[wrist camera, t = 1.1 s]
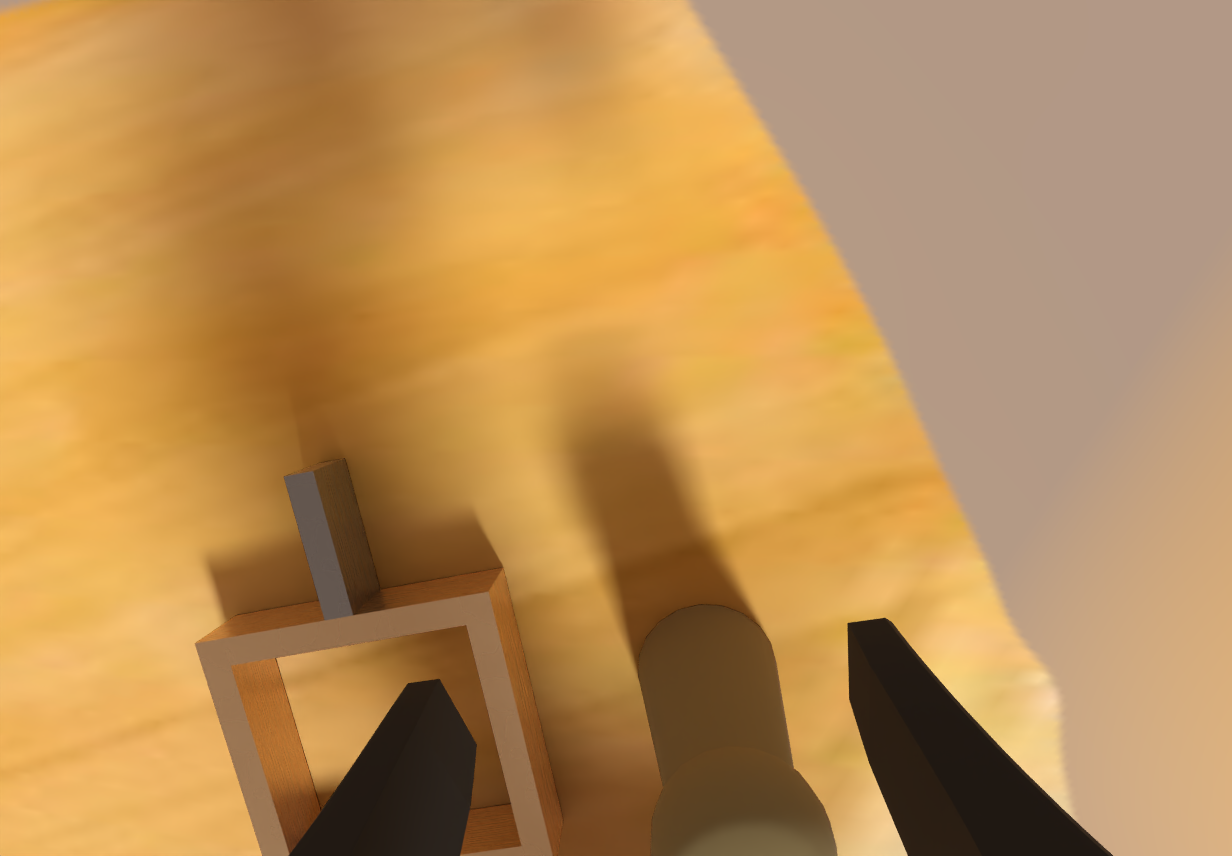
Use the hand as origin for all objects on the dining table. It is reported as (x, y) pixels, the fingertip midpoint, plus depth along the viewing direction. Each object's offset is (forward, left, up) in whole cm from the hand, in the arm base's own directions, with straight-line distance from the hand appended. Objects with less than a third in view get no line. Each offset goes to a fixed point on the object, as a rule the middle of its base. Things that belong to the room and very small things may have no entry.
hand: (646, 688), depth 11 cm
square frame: (-9, +13, -15) cm, 21 cm away
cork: (-9, -1, -15) cm, 17 cm away
